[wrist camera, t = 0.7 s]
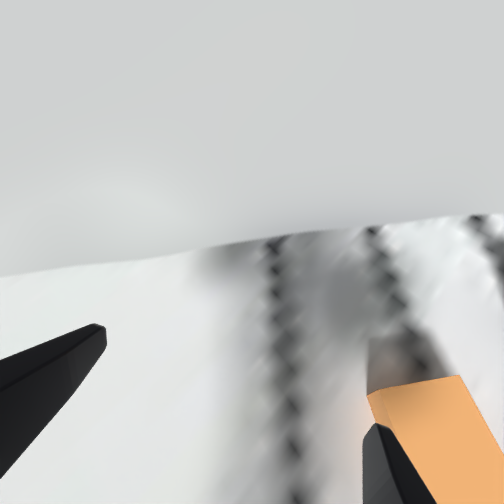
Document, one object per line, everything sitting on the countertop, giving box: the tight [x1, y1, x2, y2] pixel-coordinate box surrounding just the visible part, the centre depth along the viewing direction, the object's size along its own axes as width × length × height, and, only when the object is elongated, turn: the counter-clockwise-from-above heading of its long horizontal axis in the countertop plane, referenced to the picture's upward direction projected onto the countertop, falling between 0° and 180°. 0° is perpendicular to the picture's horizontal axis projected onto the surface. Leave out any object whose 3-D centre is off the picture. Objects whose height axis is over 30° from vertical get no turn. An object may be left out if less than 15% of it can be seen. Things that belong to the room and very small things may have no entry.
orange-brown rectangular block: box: [367, 375, 504, 504], centre depth 16 cm, size 6×5×4 cm
